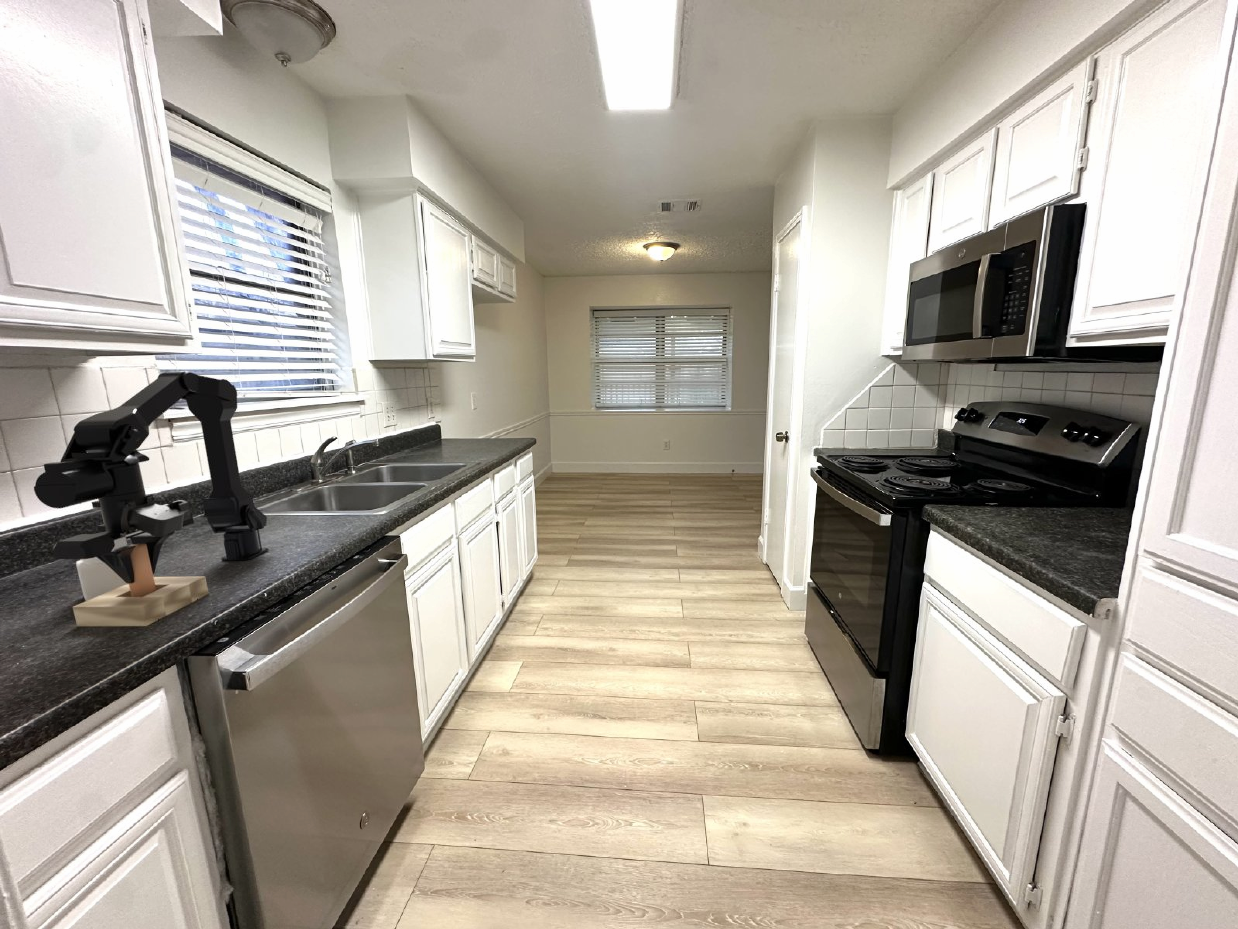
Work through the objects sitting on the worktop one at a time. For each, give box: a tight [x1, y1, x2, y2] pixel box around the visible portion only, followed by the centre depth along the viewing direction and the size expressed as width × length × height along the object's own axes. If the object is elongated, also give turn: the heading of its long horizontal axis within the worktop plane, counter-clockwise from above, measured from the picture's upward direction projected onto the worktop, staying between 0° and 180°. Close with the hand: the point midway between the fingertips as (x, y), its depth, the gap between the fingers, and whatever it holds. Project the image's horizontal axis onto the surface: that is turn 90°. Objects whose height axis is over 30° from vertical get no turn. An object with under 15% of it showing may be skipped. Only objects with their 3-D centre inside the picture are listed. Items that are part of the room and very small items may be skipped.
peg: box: [128, 543, 156, 597], centre depth 86 cm, size 3×3×9 cm
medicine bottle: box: [75, 532, 127, 601], centre depth 93 cm, size 7×7×12 cm
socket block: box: [72, 575, 209, 627], centre depth 87 cm, size 12×12×4 cm
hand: (140, 579), depth 87 cm, fingers closed on peg, 3 cm apart
